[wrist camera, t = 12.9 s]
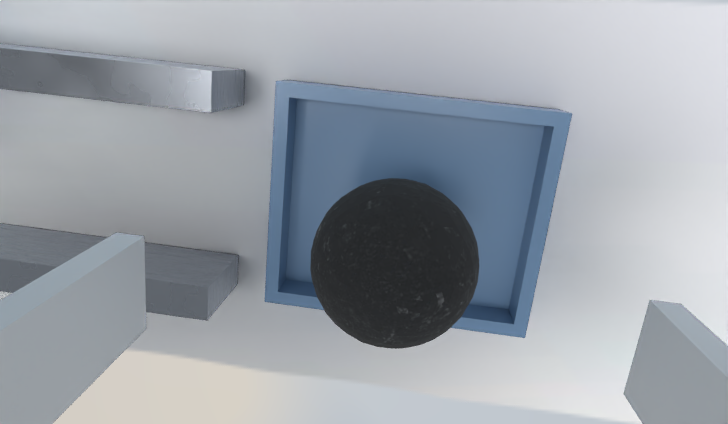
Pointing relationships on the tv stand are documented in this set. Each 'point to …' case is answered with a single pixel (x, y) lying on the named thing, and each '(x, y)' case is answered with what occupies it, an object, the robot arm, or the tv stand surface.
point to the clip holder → (134, 86)
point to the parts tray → (422, 164)
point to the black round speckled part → (394, 263)
